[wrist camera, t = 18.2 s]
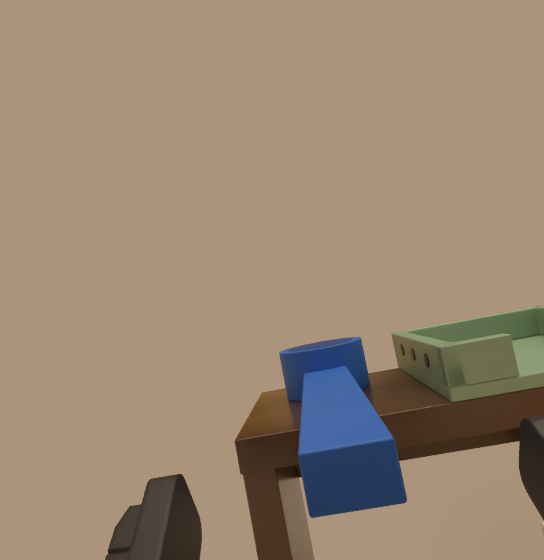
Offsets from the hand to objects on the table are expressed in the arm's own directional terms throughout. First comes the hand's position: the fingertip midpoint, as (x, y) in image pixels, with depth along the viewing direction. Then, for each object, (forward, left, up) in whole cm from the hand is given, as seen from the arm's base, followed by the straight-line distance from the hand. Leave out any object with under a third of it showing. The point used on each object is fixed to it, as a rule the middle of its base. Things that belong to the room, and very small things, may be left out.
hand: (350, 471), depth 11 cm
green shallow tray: (-15, -11, -1) cm, 18 cm away
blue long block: (-3, -9, -1) cm, 10 cm away
